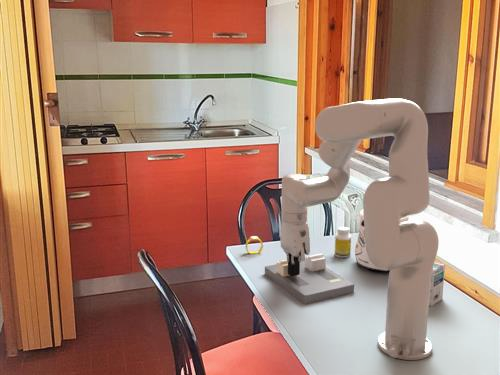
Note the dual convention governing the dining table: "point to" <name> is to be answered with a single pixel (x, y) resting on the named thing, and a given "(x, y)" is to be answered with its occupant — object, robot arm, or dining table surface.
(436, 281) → the light bulb box
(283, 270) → the cream tab
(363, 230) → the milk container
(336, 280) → the switch panel
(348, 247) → the supplement bottle
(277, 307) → the dining table surface
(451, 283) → the dining table surface
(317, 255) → the ridged white block
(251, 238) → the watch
